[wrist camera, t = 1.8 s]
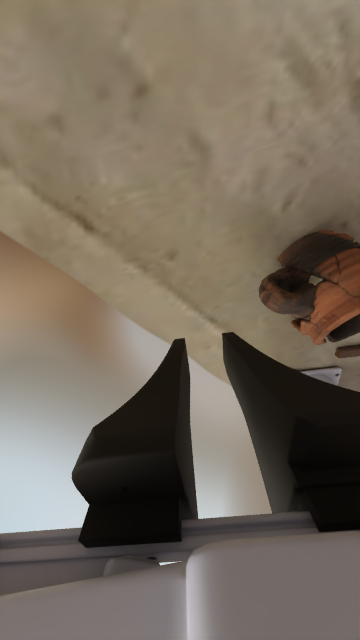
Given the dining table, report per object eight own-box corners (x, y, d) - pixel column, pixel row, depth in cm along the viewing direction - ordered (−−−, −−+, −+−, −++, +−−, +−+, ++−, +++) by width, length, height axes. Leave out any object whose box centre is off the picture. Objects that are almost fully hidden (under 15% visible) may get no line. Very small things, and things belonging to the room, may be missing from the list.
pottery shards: (363, 217, 17) (467, 270, 12) (304, 291, 25) (355, 342, 20) (252, 227, 15) (328, 298, 10) (224, 306, 22) (260, 368, 17)
